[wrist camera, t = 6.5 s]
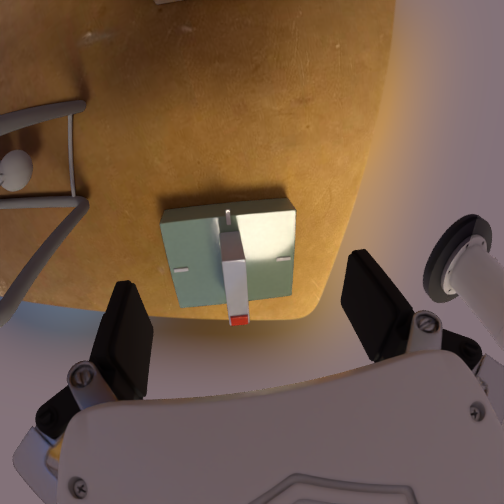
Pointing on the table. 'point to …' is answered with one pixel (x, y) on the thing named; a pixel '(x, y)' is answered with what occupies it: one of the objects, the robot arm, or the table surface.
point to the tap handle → (235, 277)
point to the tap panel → (209, 253)
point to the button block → (164, 1)
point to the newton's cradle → (16, 177)
